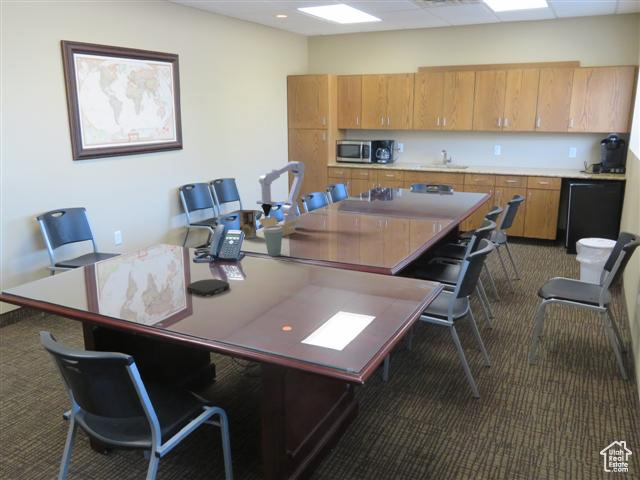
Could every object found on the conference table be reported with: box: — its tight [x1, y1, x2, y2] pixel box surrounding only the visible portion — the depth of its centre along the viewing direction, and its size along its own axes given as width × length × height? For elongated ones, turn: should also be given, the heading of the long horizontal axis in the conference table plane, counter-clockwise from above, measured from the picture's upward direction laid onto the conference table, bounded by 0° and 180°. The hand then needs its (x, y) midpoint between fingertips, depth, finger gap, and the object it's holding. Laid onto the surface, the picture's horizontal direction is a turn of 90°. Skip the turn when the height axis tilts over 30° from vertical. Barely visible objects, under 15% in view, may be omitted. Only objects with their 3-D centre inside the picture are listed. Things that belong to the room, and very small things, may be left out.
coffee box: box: [238, 209, 258, 239], centre depth 319 cm, size 9×6×16 cm
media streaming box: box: [186, 278, 230, 297], centre depth 221 cm, size 15×15×3 cm
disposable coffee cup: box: [262, 224, 283, 257], centre depth 276 cm, size 11×11×15 cm
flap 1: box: [258, 215, 280, 228], centre depth 331 cm, size 15×1×6 cm
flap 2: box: [282, 218, 300, 229], centre depth 323 cm, size 15×1×6 cm
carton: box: [279, 224, 296, 237], centre depth 328 cm, size 18×12×4 cm
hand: (267, 216), depth 332 cm, fingers closed
